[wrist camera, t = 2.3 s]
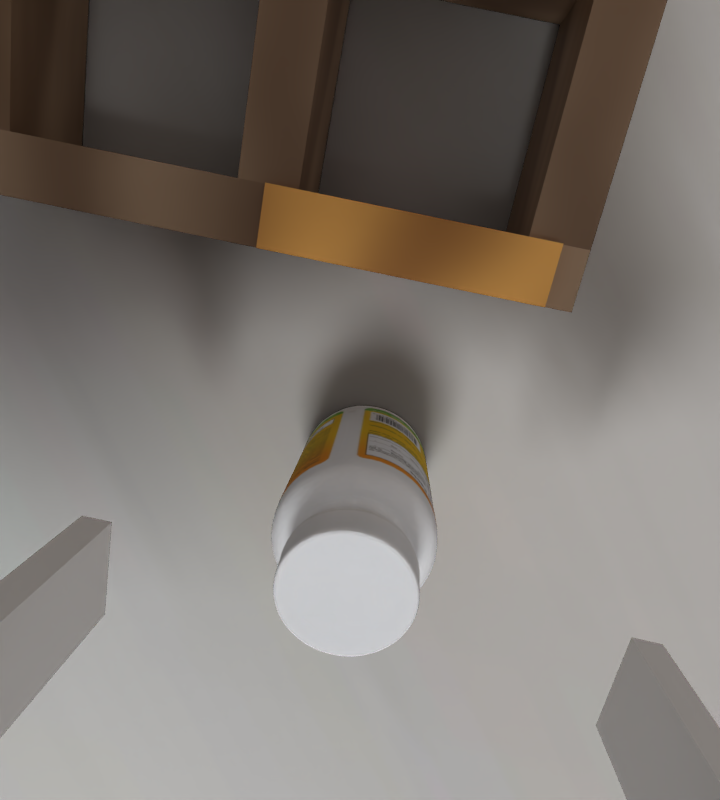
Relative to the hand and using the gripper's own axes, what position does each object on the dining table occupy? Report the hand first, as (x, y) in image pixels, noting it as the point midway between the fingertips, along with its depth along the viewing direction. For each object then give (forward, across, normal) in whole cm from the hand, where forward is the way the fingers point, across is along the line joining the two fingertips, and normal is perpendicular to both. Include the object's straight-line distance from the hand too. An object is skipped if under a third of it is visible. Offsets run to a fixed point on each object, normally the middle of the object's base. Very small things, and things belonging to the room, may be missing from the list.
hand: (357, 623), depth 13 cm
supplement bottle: (+11, -1, 0) cm, 11 cm away
